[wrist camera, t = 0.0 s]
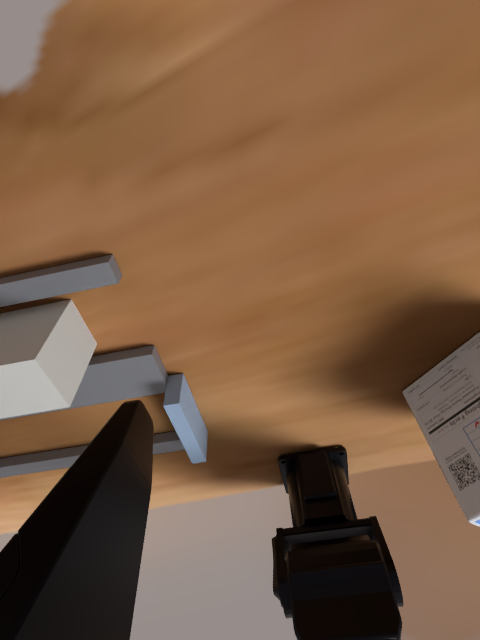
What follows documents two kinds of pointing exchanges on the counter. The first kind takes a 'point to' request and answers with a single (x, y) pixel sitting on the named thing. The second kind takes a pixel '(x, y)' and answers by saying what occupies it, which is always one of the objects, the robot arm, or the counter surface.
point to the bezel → (186, 418)
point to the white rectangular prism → (42, 358)
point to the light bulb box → (453, 421)
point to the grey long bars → (102, 371)
